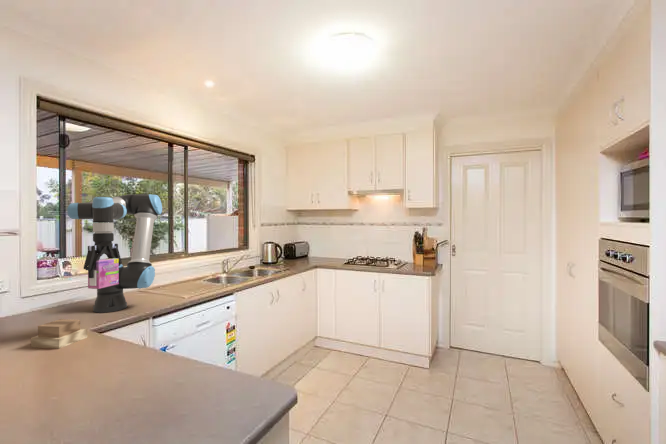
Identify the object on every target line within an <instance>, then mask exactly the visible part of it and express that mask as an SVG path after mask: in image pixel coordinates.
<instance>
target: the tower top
mask: <svg viewBox="0 0 666 444" xmlns="http://www.w3.org/2000/svg"><path fill="white" fill-rule="evenodd" d="M80 328H81V319H67V318H60V319H57V320H53V321H50V322H47V323H44V324H40V325H37V336H38V337H57V338H60V337H62V336H65V335H68V334H70V333H73V332H76V331H78V330H80Z"/></svg>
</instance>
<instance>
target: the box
mask: <svg viewBox="0 0 666 444" xmlns="http://www.w3.org/2000/svg"><path fill="white" fill-rule="evenodd" d="M95 270H97V286H89V277H88V276H87V289H92V290H93V289H94V290H97V289H100V288H104V287H109V286H113V285H117V284H119V259H118V258H113V259H111V258H108V257H107V258H100V259H99V261H96V268H95Z"/></svg>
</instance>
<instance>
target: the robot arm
mask: <svg viewBox="0 0 666 444" xmlns="http://www.w3.org/2000/svg"><path fill="white" fill-rule="evenodd" d="M66 210H67V211H66V212H67V213H66V214H67V216H68V217H69V219H70V220H71V219H72V220H78V221H79V220H92V232H93V234H92V241H93V242H94V244H93V245H88V246H87V253H86V257H85V261H84V265H83V270H86V271H87V278H88V277H89V286H97V270H95V268H96V261H99V260H100V259H101V257H102V256H103V255H106V257H107V258H111V259H113V258H118V259H119V284H117V285H113V286H109V287H104V288H100V289H96V298H95V301H94V303H93V305H92V306H93V307H92V312H94V313H97V314H98V313H99V314H101V313H112V312H119V311H121V310H125V309H127V308H128V302H127V301H126V297H125V294H124V290H126V289H127V290H128V289H129V290H130V289H134V290H135V289H139V290H141V289H148V288H150V287H151V285H152V284H153V282H154V280H155V276H156V272H155V271H156V268H155V267H154V266H153V263H152V262H151V261H150V256H151V247H152V241H153V232H154V224H155V223H154V222H155V220H157V219H158V216H159V215H160V216H161V214H162V212H163V204H162V201H161V198H160V196H159V195H157V194H151V193H149V194H148V193H145V194H141V193H139V194H138V193H137V194H135V193H134V194H133V193H132V194H131V193H130V194H129V193H128V194H124V195H123V194H122V195H118V196H113V197H112V196H111V197H109V196H108V197H107V196H95V197H93V198H92V201H89V202H88V201H87V202H71V203H69V204H68V206H67V209H66ZM126 215H133V216H134V218H136V222H135V223H136V224H135V230H134V236H133V237H134V238H133V245H132V251H131V259H130V260H129V261H128V262H127V265H126V266H124V265H123V264H122V258H121V254H120V252H119V244H118V243H113V241H114V240H115V236H114V235H115V234H114V233H113V232H115V231H114V229H115V224H114V223H115V222H114V220H120V219H123V218H125V216H126Z"/></svg>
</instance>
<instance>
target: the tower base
mask: <svg viewBox="0 0 666 444" xmlns="http://www.w3.org/2000/svg"><path fill="white" fill-rule="evenodd" d="M87 338H88V328H81V327H80V330H78V331H76V332H73V333H70V334H68V335H65V336H62V337H60V338H57V337H38V335H36V336H33V337H31V338H30V348H35V349H36V348H37V349H38V348H40V349H42V348H43V349H57V350H58V349H62V348H65V347H66V346H69V345H72V344H74V343H77V342H80V341H81V340H85V339H87Z"/></svg>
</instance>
